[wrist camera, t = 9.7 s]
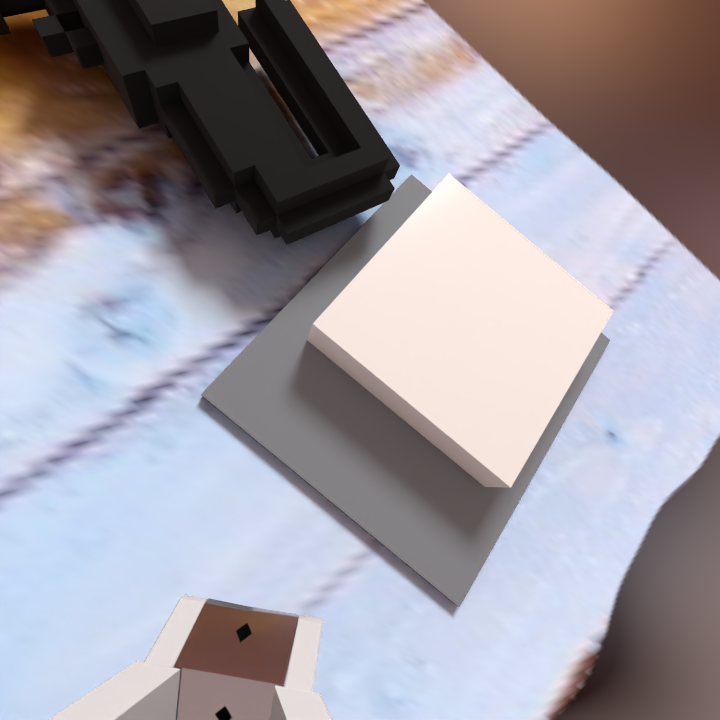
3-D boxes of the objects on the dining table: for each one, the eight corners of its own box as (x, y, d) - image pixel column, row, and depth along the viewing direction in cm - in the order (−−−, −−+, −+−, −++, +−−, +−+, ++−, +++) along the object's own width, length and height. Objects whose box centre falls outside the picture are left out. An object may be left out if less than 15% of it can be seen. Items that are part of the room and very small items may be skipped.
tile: (510, 487, 21) (613, 310, 25) (312, 323, 20) (448, 173, 25) (484, 486, 23) (581, 325, 27) (306, 340, 23) (431, 200, 27)
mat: (455, 604, 21) (459, 606, 21) (202, 395, 21) (201, 394, 21) (605, 342, 28) (610, 340, 27) (409, 178, 27) (411, 174, 27)
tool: (118, 277, 17) (425, 153, 22) (-101, -114, 19) (222, -147, 24) (150, 324, 22) (393, 215, 27) (-26, 11, 24) (228, -37, 29)
